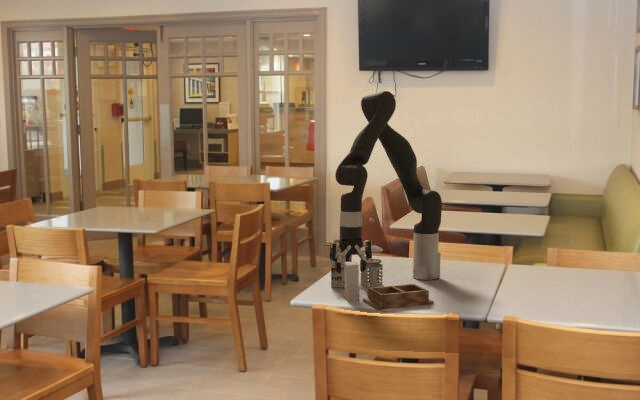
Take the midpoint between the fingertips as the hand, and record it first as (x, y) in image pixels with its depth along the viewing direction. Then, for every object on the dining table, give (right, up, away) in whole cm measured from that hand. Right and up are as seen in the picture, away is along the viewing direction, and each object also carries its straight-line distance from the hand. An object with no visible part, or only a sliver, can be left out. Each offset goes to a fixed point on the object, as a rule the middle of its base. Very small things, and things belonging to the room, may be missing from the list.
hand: (350, 272), depth 256 cm
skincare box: (0, -9, +1) cm, 9 cm away
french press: (+8, -7, +15) cm, 19 cm away
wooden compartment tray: (+15, -10, -5) cm, 19 cm away
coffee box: (-2, -7, +20) cm, 21 cm away
